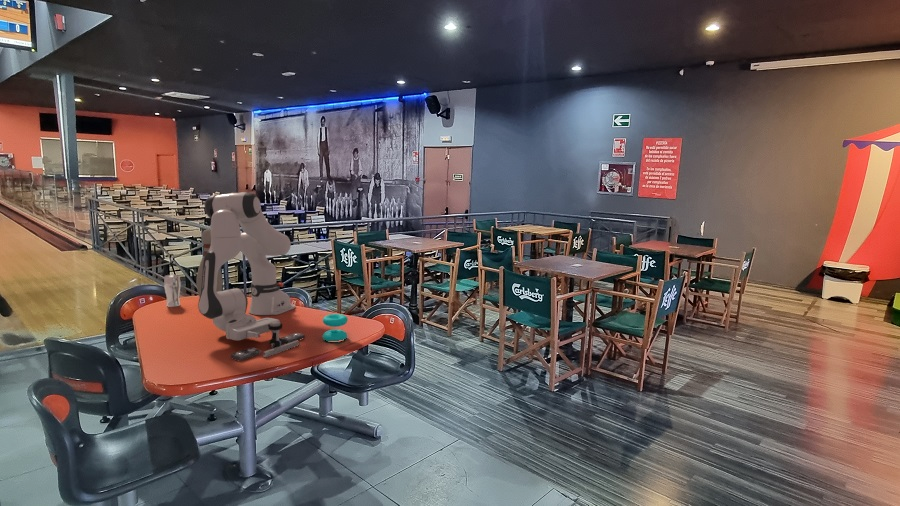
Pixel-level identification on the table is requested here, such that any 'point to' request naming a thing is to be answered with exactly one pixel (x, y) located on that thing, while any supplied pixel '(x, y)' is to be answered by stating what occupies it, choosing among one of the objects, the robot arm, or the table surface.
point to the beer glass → (172, 290)
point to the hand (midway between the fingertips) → (268, 332)
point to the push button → (275, 333)
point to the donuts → (335, 321)
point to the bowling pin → (207, 243)
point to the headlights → (289, 343)
